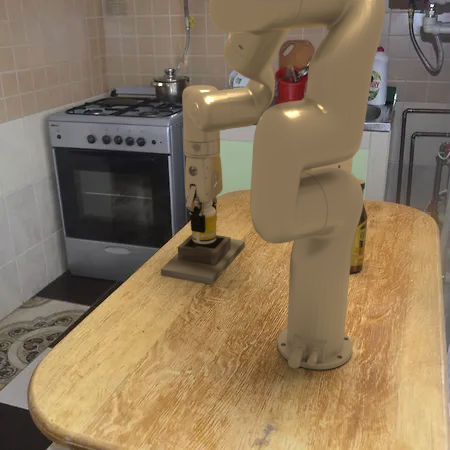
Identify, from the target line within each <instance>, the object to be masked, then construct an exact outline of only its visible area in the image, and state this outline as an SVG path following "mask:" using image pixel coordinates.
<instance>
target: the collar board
mask: <svg viewBox="0 0 450 450" xmlns="http://www.w3.org/2000/svg"><path fill="white" fill-rule="evenodd" d="M245 246H246V241H245V240H243V239H242V240H241V239H235V238H231V237H230V236H223V235H218V234H216V240H215V241H214V242H212V243H209V244H198V243H195V242H194V241H193V239H192V234H190V236H188V237H187V238H186V239H185V240H184V241H182V242H181V244H179V245H178V246H177V253H176V254H175V255H173V257H171V259H169V260H168V262H166V263H165V264H164V265H163V266H162V267H161V268H160V276H164V277H168V278H169V277H170V278H174V279H180V280H184V281H191V282H197V283H202V284H206V285H213V284H214V283H215V282H216V281H217V280H218V279H219V277H220V276H222V274H223V273H224V271H226V269H227V268H228V267H229V266H230V265H231V263H233V261H234V260H235V258H237V256H239V254H240V253H241V252H242V250H243V249H244V248H245Z"/></svg>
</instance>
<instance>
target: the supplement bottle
mask: <svg viewBox="0 0 450 450" xmlns="http://www.w3.org/2000/svg"><path fill="white" fill-rule="evenodd" d="M195 200H196V201H200V200H199V198H196V199H195ZM212 204H213V200H211V201H210V202H209V203H207V204H204V212H203V215H205V232H204V233H201V232H194V231H192V230H191V235H192V239H193V241H194V242H195V243H198V244H209V243H212V242H214V241H215V240H216V235H217V221H216V216H217V209H216V210H215V208H214V207H212ZM195 206H197V207H198V208H199V209H200V204H195Z"/></svg>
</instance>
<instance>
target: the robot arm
mask: <svg viewBox="0 0 450 450" xmlns="http://www.w3.org/2000/svg"><path fill="white" fill-rule="evenodd" d="M208 11H209V12H208V13H209V17H210V21H211V23H212V25H213V26H214V27H215V28H216V29H217V30H218V31H220V32H221V33H224V34H228V36H227V39H226V41H225V43H224V46H223V51H222V52H223V57H224V59H225V61H226V64H227V65H228V66H229V67H230V69H232V70H233V71H234V72H235V73H237V74H238V75H240V76H242V77H244V78H247V79H249V80H248V82H247V83H246V85H245V86H244V87H238V88H236V87H235V88H228V89H227V88H226V89H220V90H219V89H218V88H217V87H215V86H214V85H206V84H199V85H198V84H197V85H189V86H187V87H185V88H184V89H183V91H182V93H181V97H182V102H181V103H182V123H183V126H182V127H183V153H184V156H185V157H186V158H185V168H184V169H185V170H184V171H185V173H184V188H185V189H184V190H185V194H184V195H185V200H186V202H185V203H186V204H185V208H187V210H188V212H189V216H190V231H191V232H192V231H194V232H201V233H204V232H205V215H203V212H204V204H207V203H209V202H210V201H211V200H213V204H212V207H214V208H215V210H216V211H217V203H218V198H217V196H219V194H221V193H222V191H223V171H222V170H223V168H222V160H221V131H225V130H230V129H231V130H232V129H239V128H245V127H250V126H252V125H255V124H256V128H255V130H254V134H253V144H252V158H251V160H252V161H251V179H250V180H251V181H250V200H249V202H250V203H249V204H250V205H249V206H250V207H249V209H250V218H251V223H252V225H253V228H254V229H255V232H256V234H257V235H258V236H259V237H260V238H261V239H262V240H263V241H265V242H267V243H269V244H278V245H279V244H284V243H289V242H293V244H292V247H291V252H290V256H289V257H290V259H289V278H288V302H287V303H288V304H287V305H288V306H287V326H286V327H285V328H284V329H283V330H282V331H281V332H280V333H279V334H278V336H277V337H278V338H277V348H278V352H279V353H280V354H281V356H282V357H283V358H284V359H286V360H287V364H288V366H289V367H290V368H292V369H298V368H299V367H302V368H304V369H309V370H331V369H334V368H338V367H340V366H342V365H344V364H345V363H346V362H348V361H349V360H350V358H351V357H352V355H353V349H354V348H353V347H354V346H353V341H352V339H351V338H350V336H349V335H348V334H347V333H346V332H345V331H346V321H347V320H346V318H347V306H348V295H349V294H348V293H349V283H350V267H351V256H352V248H353V242H354V237H355V233H356V229H357V226H358V223H359V220H360V216H361V213H362V208H363V203H364V193H363V191H362V187H361V185H360V183H359V181H358V180H357V179H358V178H357V176H355V175H354V174H353V173H352V172H351V173H350V172H349V171H347V170H344V169H341V168H333V167H329V168H321V169H315V170H310V171H305V172H303V170H308V169H312V168H317V167H322V166H327V165H332V164H336V163H340V162H343V161H346V160H348V159H350V158H352V157H353V158H354V157H355V156H356V154H357V153H358V152H359V150H360V147H361V144H362V142H363V141H362V140H363V136H364V128H365V123H366V115H367V109H368V103H369V96H370V89H371V81H372V73H373V66H374V63H375V57H376V55H377V51H378V48H379V44H380V41H381V37H382V32H383V30H384V29H383V28H384V23H385V16H386V3H385V0H209V4H208ZM313 28H314V29H315V28H317V29H318V28H325V29H326V30H327V32H326V34H325V36H324V37H323V38H322V39H321V41H320V42H319V44H318V46H316V49H315V51H314V53H313V54H312V57H311V59H310V63H309V65H308V66H309V67H308V72H307V84H306V89H305V90H306V91H305V94H304V97H303V98H302V99H301V100H293V101H287V102H280V103H277V104H275V105H271V104H272V102H273V99H274V97H275V91H276V90H275V89H276V81H275V80H276V79H275V73H274V71H273V70H274V69H273V68H272V63H273V61H274V60H275V58H276V56H277V54H278V53H279V51H280V49H281V48H282V45H283V44H284V42H285V41H286V39H287V37H288V35H289V33H290V31H291V30H299V29H313ZM270 105H271V106H270ZM196 198H199V200H200V201H196V200H195V199H196ZM195 204H200V209H199V208H198V207H197V206H195ZM217 218H218V217H217V215H216V222H217Z"/></svg>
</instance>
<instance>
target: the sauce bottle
mask: <svg viewBox="0 0 450 450" xmlns="http://www.w3.org/2000/svg"><path fill="white" fill-rule="evenodd" d="M357 180H358V181H359V183H360V185H361V187H362V191H363V194H365V193H364V190H365V187H366V181H365V180H363V179H359V178H357ZM368 218H369V217H368V215H367V210H366V207H365V204H364V202H363V208H362V213H361V216H360V220H359V223H358V226H357V229H356V233H355V237H354V242H353V248H352V256H351V267H350V273H357V272H360V271H361V270H362V268H363V265H364V260H365V259H364V258H365V248H366V241H367V240H366V239H367V227H368Z"/></svg>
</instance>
